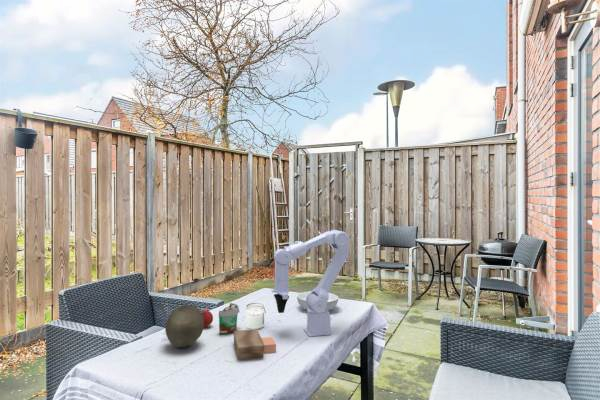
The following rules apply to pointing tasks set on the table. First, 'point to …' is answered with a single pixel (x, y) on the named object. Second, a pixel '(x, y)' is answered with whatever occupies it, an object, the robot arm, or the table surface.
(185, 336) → the cantaloupe
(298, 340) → the table surface
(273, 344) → the peach block
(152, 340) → the table surface
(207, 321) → the onion
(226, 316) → the food container
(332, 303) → the serving bowl
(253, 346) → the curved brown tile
